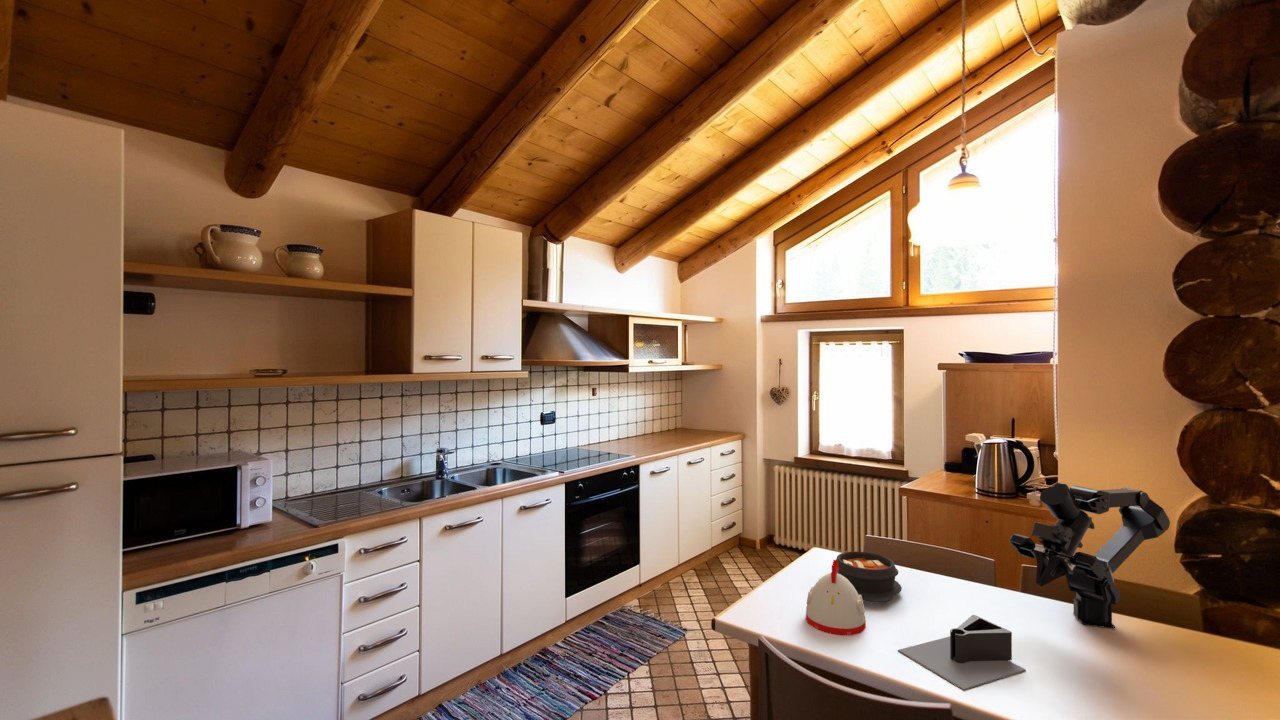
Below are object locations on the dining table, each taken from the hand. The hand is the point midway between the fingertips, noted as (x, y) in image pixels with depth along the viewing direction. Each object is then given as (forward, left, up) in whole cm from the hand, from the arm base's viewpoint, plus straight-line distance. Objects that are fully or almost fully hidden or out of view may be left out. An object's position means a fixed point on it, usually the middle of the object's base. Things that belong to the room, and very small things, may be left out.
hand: (1038, 585), depth 131 cm
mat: (+19, +17, -12) cm, 29 cm away
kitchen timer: (+45, +7, -12) cm, 47 cm away
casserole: (+37, -16, -12) cm, 42 cm away
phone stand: (+12, +10, -9) cm, 18 cm away
